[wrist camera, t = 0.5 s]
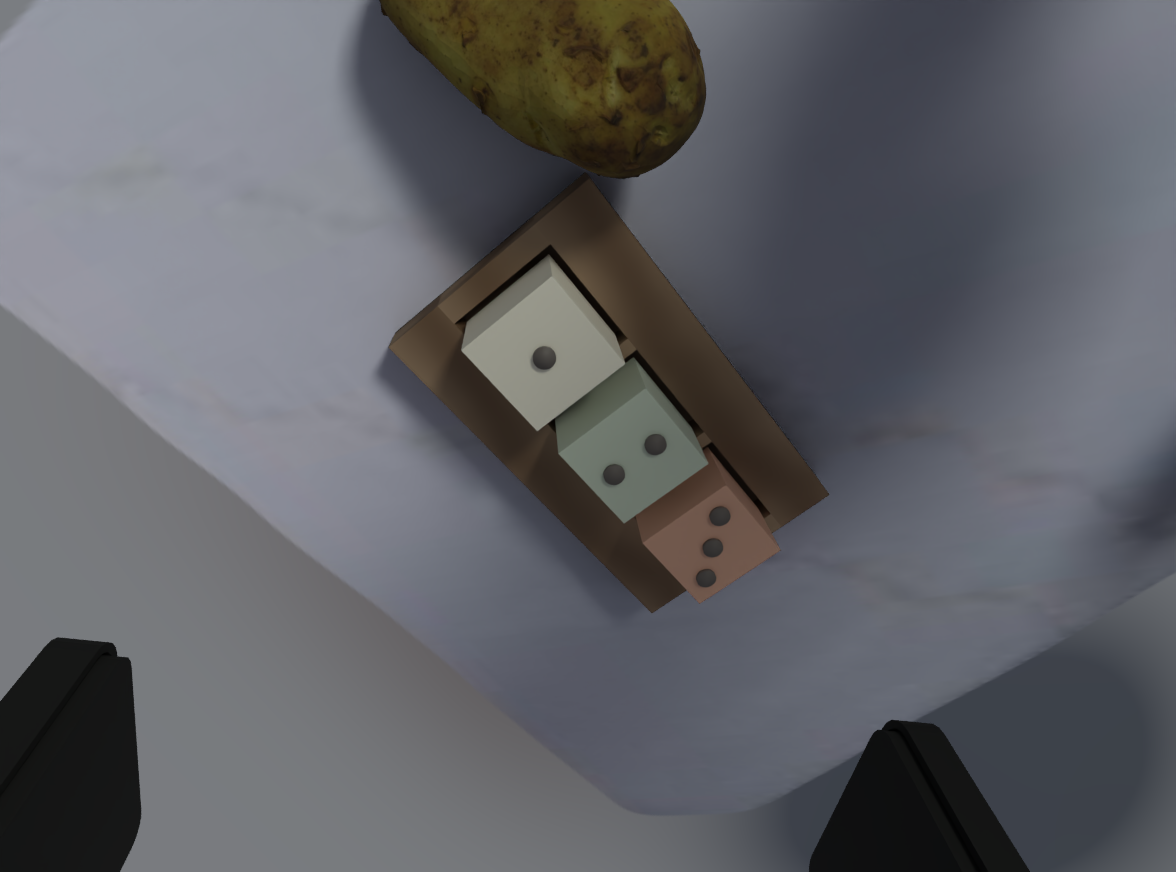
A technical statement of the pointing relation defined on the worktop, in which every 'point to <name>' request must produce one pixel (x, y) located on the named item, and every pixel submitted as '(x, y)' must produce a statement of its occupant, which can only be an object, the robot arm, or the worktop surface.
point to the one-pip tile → (542, 344)
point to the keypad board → (644, 331)
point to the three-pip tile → (706, 531)
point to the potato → (569, 73)
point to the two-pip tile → (628, 441)
